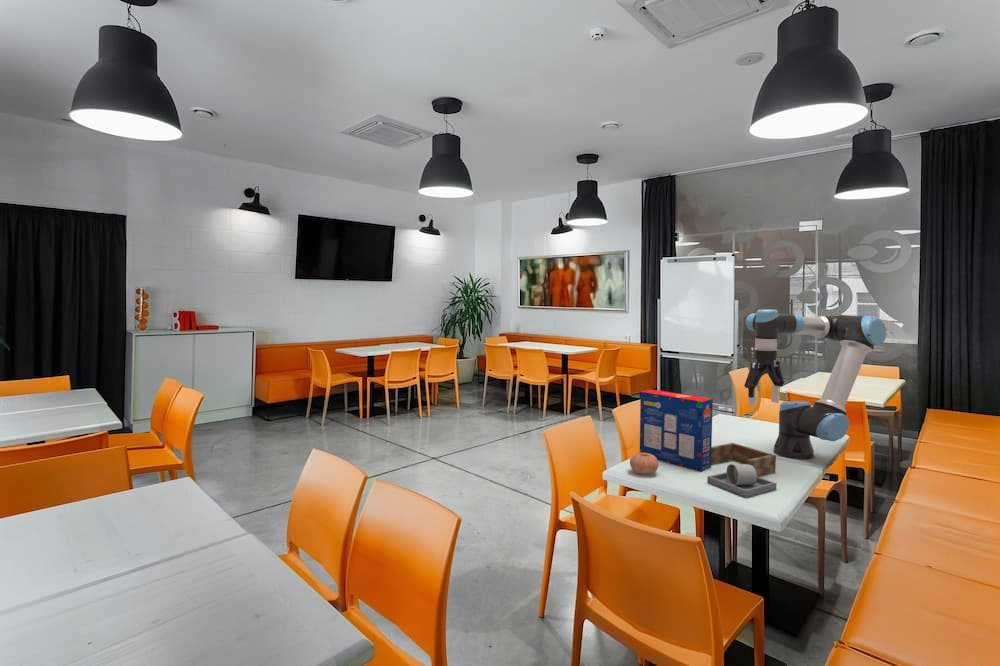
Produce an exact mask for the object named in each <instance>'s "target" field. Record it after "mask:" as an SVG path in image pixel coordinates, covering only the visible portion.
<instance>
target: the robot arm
mask: <svg viewBox="0 0 1000 666" xmlns="http://www.w3.org/2000/svg"><path fill="white" fill-rule="evenodd" d="M745 326H746V328H747V329H748V330H749V331H752V332H755V335H754V336H755V337H754V338H755V339H754V340H755V343H754V348H755V350H754V359H755V360H756V362H751V363H750V368H749V372H748V374H747V377H746V380H745V383H744V388H746V389H748V391H747V392H748V406H751V407H757V393H758V392H757V391H758V390H757V386H758V384H759V382H760V381H761V378H762V377H763V376H764V375H766V374H767V375H768V378H769V379H770V381H771V383H772V385H771V403H775V404H779V403H780V393H781V392H780V391H781V387H783V386H784V384H785V381H784V377H783V374H782V370H781V367H780V365H781V364H780V361H779V360H777V357H778V356H777V354H778V352H777V349H778V334H780V335H781V334H782V335H783V334H791V335H804V336H805V335H806V336H813V337H814V338H817V339H824V340H828V341H829V340H830V341H832V342H833V341H835V342H839V344H840V346H841V349H840V351H839V354H838V356H837V358H836V361H835V364H834V366H833V367H832V370H831V373H830V375H829V378H828V380H827V383H826V385H825V388H824V390H823V393H822V395H821V397H820V398H819V399H818V400H815V401H814V403H813V405H812V403H811V402H810V401H802V400H800V401H799V400H794V401H793V400H789V401H782V402H781V403H780V404H779V410H778V414H779V415H778V436H777V439H776V440H775V443H774V445H773V453H774V454H776V456H777V455H778V456H781V457H784V458H787V459H794V460H795V459H796V460H811V459H814V458H815V450H814V448H813V445H812V441H811V438H810V437H813V438H814V437H815V438H818V439H820V440H822V441H829V442H836V441H838V440H841V439H842V438H844V437H845V436H846V434H847V433H848V432H849V430H850V429H849V428H850V424H849V423H850V419H849V418H848V416H847V414H848V413H847V411H846V408H845V407H846V404H847V402H848V399H849V397H850V395H851V393H852V389H853V386H854V385H855V383H856V380H857V377H858V375H859V373H860V370H861V368H862V366H863V363H864V360H865V358H866V355H868V354H870V353H872V352H873V351H874V348H875V347H877V346H881V345H882V344H883V343H885V341H886V338H887V329H886V324H885V323H884V321H883V320H882V319H881V318H879V317H878V316H873V315H872V316H871V315H851V314H850V315H847V314H842V315H841V314H840V315H839V314H838V315H817V316H814V317H810V316H809V317H808V316H801V315H800V314H795V313H790V314H789V313H788V314H787V313H779V311H778V310H777V309H758V310H757V311H756V313H755V312H754V313H750V314H749V315H748V316H747V317H746V319H745Z"/></svg>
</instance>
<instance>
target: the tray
mask: <svg viewBox="0 0 1000 666" xmlns="http://www.w3.org/2000/svg"><path fill="white" fill-rule="evenodd" d="M706 483H707V484H709V485H710V486H714V487H716V488H719V489H721V490H724V491H726V492H729V493H731V494H734V495H737V496H738V497H742V498H744V499H748V498H751V497H756V496H759V495H763V494H766V493H770V492H774V491H776V490H777V482H774V481H771V480H768V479H765V478H763V477H758V478H757V481H756V483H755V484H752V485H741V486H735V485H732V484H730V483H729V481H728V479H727V474H726V472H722V473H717V474H712V475H708V476H707V482H706Z"/></svg>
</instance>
